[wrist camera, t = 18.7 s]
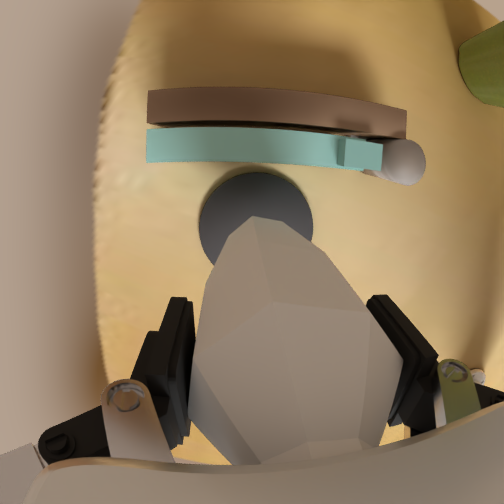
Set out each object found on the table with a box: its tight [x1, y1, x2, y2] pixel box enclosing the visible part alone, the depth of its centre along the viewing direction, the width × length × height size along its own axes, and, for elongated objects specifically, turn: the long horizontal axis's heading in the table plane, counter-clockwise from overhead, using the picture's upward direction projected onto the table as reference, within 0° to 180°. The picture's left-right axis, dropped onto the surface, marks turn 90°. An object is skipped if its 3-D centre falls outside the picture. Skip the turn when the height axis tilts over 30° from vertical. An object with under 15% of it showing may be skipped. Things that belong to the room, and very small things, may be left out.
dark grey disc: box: [199, 173, 313, 265], centre depth 23 cm, size 9×9×1 cm
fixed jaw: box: [147, 87, 426, 185], centre depth 18 cm, size 5×18×6 cm, turn 88°
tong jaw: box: [146, 127, 383, 171], centre depth 17 cm, size 2×14×6 cm, turn 87°
